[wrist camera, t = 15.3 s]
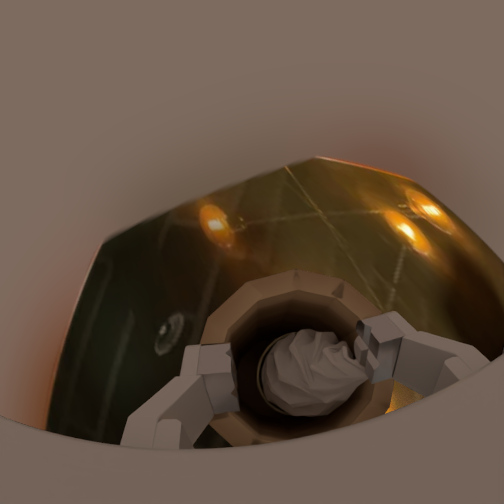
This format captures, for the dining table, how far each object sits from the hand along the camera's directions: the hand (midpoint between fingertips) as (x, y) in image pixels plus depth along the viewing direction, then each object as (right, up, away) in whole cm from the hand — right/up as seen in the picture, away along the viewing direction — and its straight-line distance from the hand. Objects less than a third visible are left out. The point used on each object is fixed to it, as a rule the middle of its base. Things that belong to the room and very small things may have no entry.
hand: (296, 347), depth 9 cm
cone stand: (+1, -8, +13) cm, 15 cm away
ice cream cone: (0, -7, +13) cm, 15 cm away
